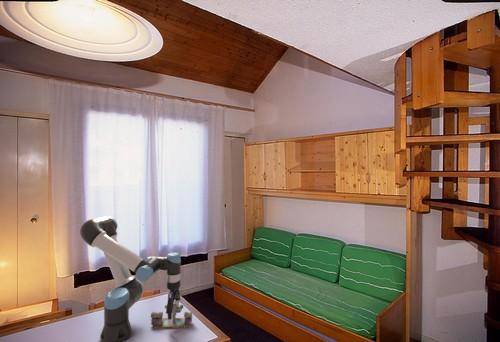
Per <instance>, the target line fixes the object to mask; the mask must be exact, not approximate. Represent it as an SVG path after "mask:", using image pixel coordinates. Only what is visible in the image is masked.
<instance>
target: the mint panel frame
mask: <svg viewBox="0 0 500 342" xmlns="http://www.w3.org/2000/svg"><path fill="white" fill-rule="evenodd" d="M183 314H184V315H183V317H176V322H175V323H173V325H167V319H168V317H163V316H164V312H163V311H151V314H150V318H151V319H150V321H151V323H150V324H151V325H155V326H154V327H155V329H189V326H190V325H191V324H192V322H193V311H184V313H183Z"/></svg>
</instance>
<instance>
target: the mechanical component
mask: <svg viewBox="0 0 500 342" xmlns="http://www.w3.org/2000/svg"><path fill="white" fill-rule="evenodd" d="M164 309H165V312H166V311H167V304H166V305H164ZM183 309H184V305H183V304H179V307H178V306H177V304H173V310H172V312H173V323H175V322H176V318H177V317H176V316H177V314H179V313H181V312H182V310H183Z"/></svg>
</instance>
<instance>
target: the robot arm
mask: <svg viewBox="0 0 500 342" xmlns="http://www.w3.org/2000/svg"><path fill="white" fill-rule="evenodd" d="M117 229H118V222H117V221H116V218H113V217H112V216H109V215H105V216H99V217H96V218H92V219H88V220H86V221H85V222H83V224H82V225H81V227H80V229H79V234H80V237H81V239H82V240H83V241H84V243H86V244H87V245H88V246H90V247H92V248H97V249H99V251H102V253H103V255H104V257H105V259H106V262H107V264H108V266H109V269H110V271H111V274H112V277H113V279H114V282H115V284H114V285H115V286H114V289H112V290H110V291H109V292H106V294H105V297H104V301H103V306H104V307H103V308H104V309H103V315H104V316H103V320H104V321H103V327H102V330H101V333H100V336H99V342H126V341H128V340H129V339H130V338H131V337H132V335H133V326H132V324H131V322H130V318H129V315H130V314H129V313H130V311H129V310H130V308H132V307H133V306H134V305H135V303H137V302H138V301H139V300H140V299H141V298H142V296H143V294H144V285H143V283H142V282H146V281H148V280H150V279H151V278H152V277H153V276H154V275H155V274H156V273H158V272H159V271H164V272H165V271H166V289H168V290H169V293H167V304H166V305H167V311H166V310H165V314H166V315H167V318H168V319H167V325H173V312H172V310H173V304H177V306H178V307H180V301H181V300H182V299H181V298H182V297H181V292H180V288H181V277H182V274H181V268H182V267H181V266H182V265H181V264H182V263H181V262H182V260H181V254H180V253H179V252H169V253H168V254H167V255H166V256H155V255H153V256H148V257H147V258H146V260H145V259H143V258H142V257H140V256H139V255H137V254H136V253H135V252H133V251H132V250H130V249H128V248H127V247H125V246H124V245H123V244H121V243H119V242H118V240H117V237H118V232H117ZM131 271H132V272H134V273H135V276H134V275H132V273H131Z"/></svg>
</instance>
